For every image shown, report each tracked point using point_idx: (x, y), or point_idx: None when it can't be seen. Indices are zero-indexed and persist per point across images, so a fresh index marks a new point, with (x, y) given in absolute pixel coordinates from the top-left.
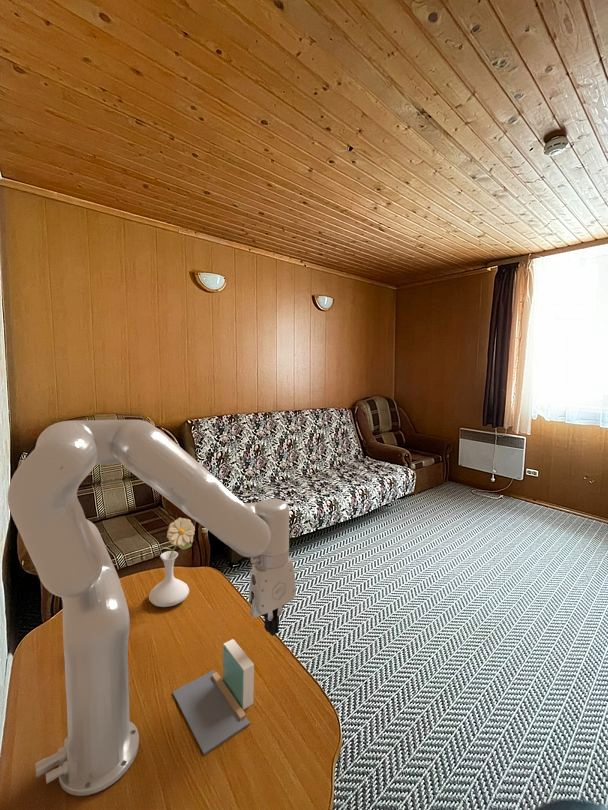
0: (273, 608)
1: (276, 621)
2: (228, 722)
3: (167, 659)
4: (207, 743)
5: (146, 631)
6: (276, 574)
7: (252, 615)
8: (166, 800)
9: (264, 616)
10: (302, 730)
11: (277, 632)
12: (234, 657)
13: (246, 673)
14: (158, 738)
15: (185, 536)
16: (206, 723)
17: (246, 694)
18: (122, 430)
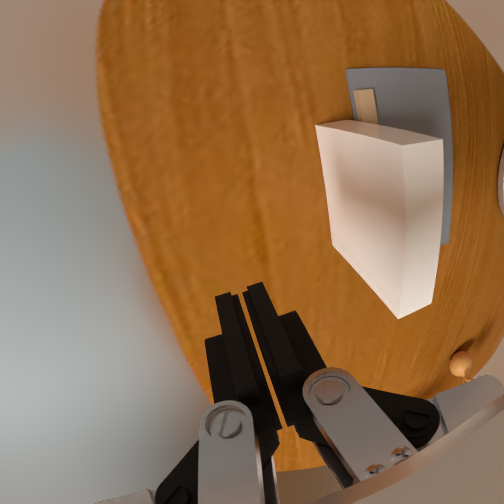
0: (432, 489)
1: (251, 361)
2: (393, 102)
3: (419, 321)
4: (437, 83)
5: (411, 378)
6: None
7: (498, 385)
8: (484, 48)
9: (394, 397)
10: None
11: (225, 297)
12: (440, 224)
13: (417, 136)
14: (482, 154)
15: None
16: (430, 129)
17: (361, 125)
18: None
